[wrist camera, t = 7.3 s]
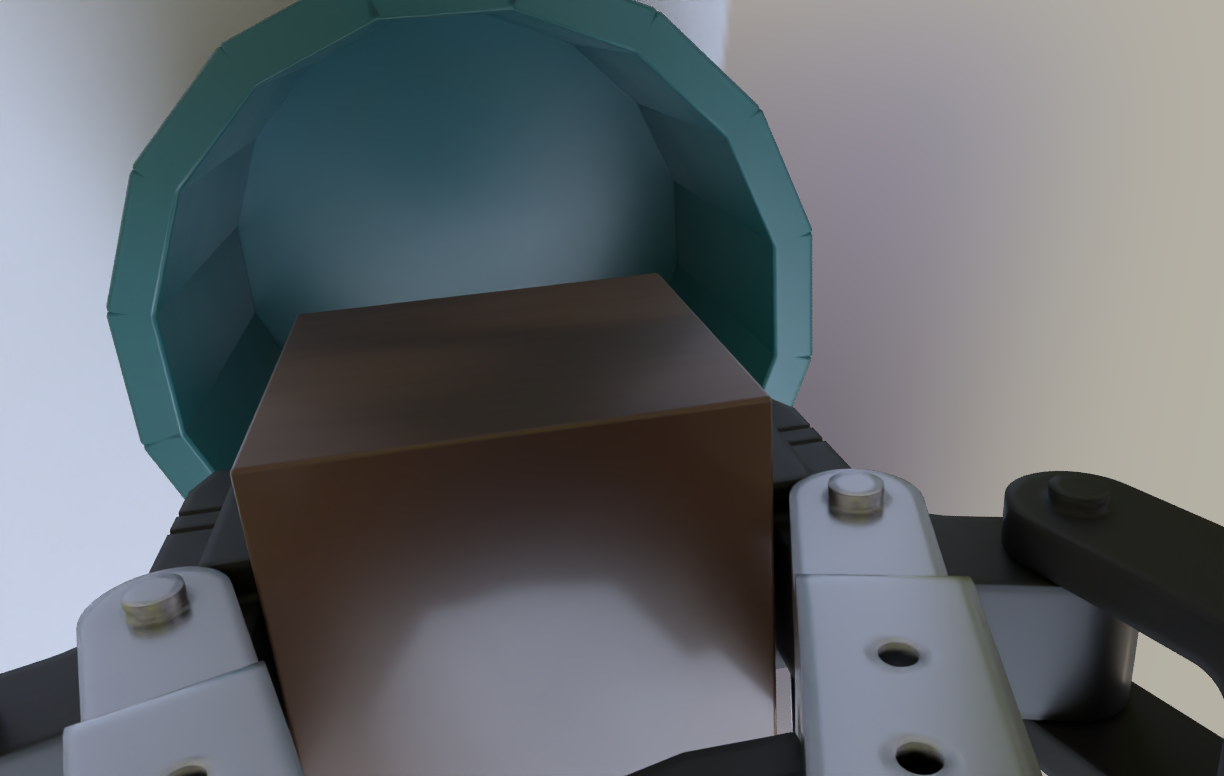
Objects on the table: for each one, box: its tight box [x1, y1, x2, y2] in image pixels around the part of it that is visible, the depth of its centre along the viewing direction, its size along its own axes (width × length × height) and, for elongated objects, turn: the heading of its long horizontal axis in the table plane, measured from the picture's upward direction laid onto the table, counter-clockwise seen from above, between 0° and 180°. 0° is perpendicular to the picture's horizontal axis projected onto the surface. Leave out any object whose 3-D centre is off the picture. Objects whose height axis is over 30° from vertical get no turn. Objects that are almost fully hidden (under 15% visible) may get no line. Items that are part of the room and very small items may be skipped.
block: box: [230, 273, 777, 776], centre depth 11 cm, size 5×5×5 cm
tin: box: [106, 0, 812, 499], centre depth 22 cm, size 13×13×8 cm
